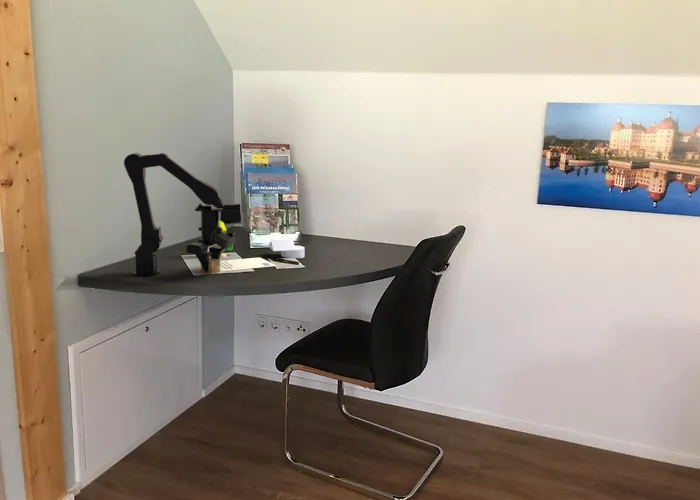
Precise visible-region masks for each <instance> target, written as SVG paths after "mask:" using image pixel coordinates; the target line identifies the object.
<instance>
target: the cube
mask: <svg viewBox="0 0 700 500" xmlns="http://www.w3.org/2000/svg"><path fill="white" fill-rule="evenodd" d="M220 261H221V258H220V259H213V258H209V266H208V271H207V272H206V271H204V269H203V267H202V265H201V264H200V273H201V274H206V275H214V274H218V273H220V272H221V271H220Z"/></svg>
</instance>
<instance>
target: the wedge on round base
mask: <svg viewBox="0 0 700 500" xmlns="http://www.w3.org/2000/svg"><path fill="white" fill-rule="evenodd" d="M268 248H270V249H271V250H272V251H273V252H280V256H281V257H283V258H285V259H287V258H288V259H303V258H305V254H306V253H305V252H306V251H305V248H306V247H305V246H302V245H295V242H294V238H289V239H288V238H287V239H286V238H285V239H271V240H270V241H269V245H268Z"/></svg>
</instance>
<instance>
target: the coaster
mask: <svg viewBox="0 0 700 500" xmlns="http://www.w3.org/2000/svg"><path fill="white" fill-rule="evenodd" d="M226 257H227V254H226V253H224V252H222V254H221V257H220V259H223V258H226ZM209 258H211V256H209Z"/></svg>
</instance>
